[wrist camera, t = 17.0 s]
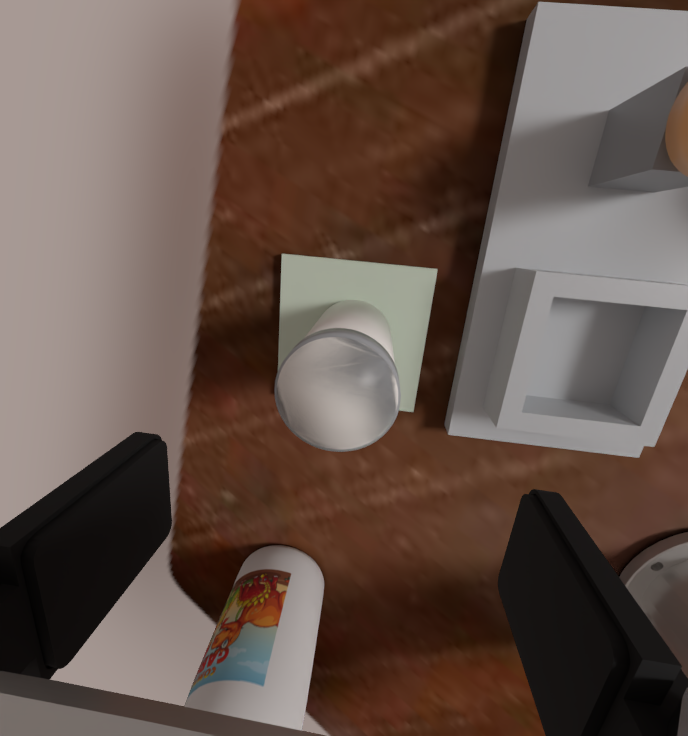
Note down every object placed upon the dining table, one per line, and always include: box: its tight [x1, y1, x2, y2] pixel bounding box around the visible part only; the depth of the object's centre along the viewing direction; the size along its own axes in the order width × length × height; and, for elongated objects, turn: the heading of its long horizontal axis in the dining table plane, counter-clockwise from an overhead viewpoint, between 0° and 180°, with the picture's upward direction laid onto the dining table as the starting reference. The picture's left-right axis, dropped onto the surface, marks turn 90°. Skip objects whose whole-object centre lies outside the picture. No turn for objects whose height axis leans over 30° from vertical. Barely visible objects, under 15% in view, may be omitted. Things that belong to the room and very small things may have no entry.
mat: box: [278, 254, 438, 412], centre depth 25 cm, size 10×10×1 cm
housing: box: [444, 2, 688, 458], centre depth 20 cm, size 24×13×6 cm, turn 175°
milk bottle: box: [184, 545, 324, 731], centre depth 24 cm, size 8×8×20 cm
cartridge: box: [274, 300, 401, 452], centre depth 20 cm, size 5×5×10 cm
